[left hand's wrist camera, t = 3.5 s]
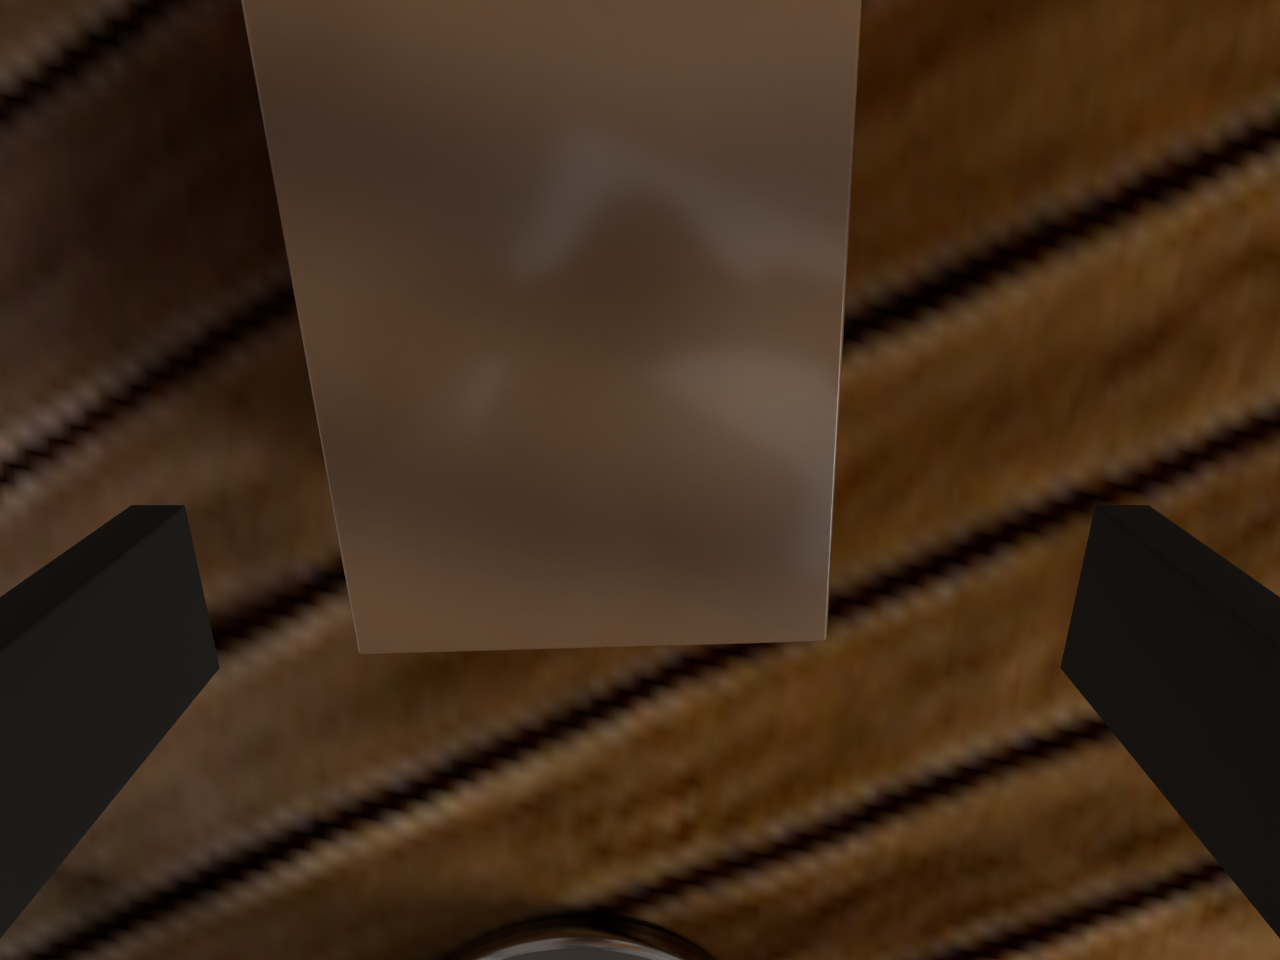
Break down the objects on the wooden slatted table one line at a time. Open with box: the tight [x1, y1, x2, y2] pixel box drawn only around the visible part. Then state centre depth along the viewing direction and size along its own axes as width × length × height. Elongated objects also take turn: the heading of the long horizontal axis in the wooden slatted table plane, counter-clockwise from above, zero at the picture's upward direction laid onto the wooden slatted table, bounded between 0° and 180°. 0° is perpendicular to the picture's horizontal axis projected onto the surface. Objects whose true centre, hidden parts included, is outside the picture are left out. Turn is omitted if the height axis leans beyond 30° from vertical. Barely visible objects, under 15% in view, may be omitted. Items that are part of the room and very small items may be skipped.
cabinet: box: [241, 0, 862, 654], centre depth 19 cm, size 21×11×9 cm, turn 2°
